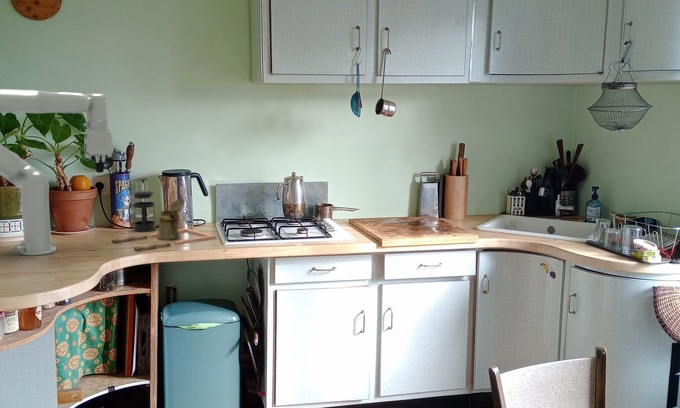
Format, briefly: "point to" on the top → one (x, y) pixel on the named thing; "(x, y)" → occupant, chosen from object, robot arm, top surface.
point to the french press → (143, 211)
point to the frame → (202, 238)
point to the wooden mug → (170, 222)
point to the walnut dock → (141, 248)
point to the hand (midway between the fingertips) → (99, 172)
